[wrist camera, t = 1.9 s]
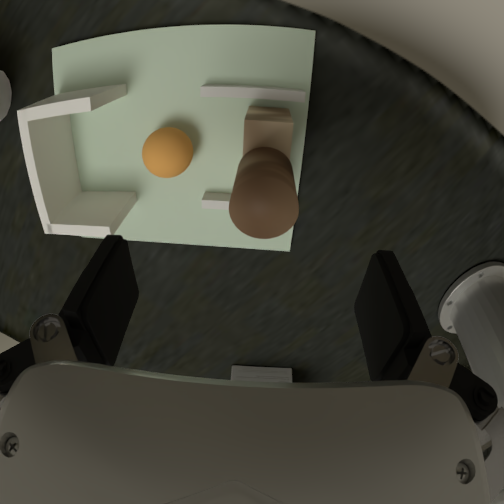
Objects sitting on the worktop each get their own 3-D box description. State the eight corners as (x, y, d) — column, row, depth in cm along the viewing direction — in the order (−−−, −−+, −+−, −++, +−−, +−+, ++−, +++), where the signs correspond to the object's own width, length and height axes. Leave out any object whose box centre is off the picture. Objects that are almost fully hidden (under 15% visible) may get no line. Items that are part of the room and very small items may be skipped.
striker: (292, 109, 22) (307, 148, 14) (284, 190, 26) (290, 265, 18) (245, 105, 22) (229, 142, 14) (241, 187, 26) (228, 261, 18)
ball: (197, 121, 23) (185, 135, 20) (198, 167, 26) (187, 187, 23) (150, 122, 23) (131, 136, 20) (153, 166, 26) (137, 186, 23)
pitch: (313, 31, 19) (330, 25, 14) (289, 245, 31) (292, 295, 26) (58, 47, 20) (7, 57, 14) (85, 231, 31) (55, 272, 26)
